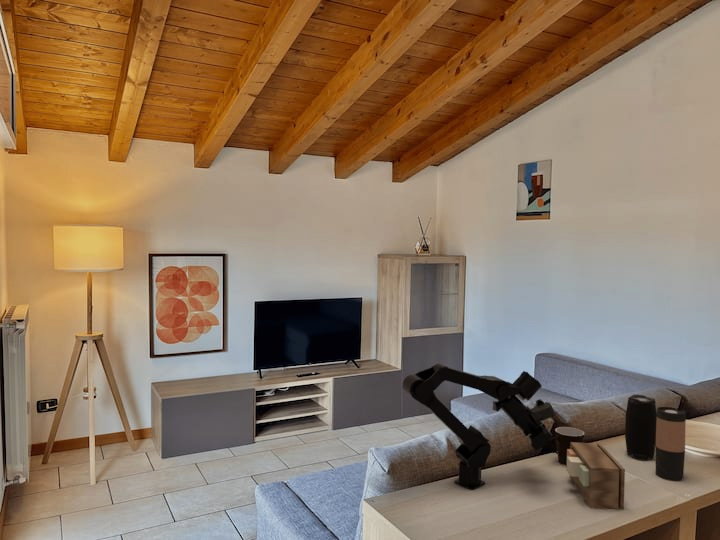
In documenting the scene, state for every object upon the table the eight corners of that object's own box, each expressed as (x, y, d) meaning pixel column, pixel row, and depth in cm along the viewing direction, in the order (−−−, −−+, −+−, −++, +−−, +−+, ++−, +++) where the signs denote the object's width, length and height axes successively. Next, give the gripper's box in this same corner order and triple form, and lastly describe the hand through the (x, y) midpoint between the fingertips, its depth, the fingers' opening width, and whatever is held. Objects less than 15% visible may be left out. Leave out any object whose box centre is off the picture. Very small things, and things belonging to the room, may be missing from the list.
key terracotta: (570, 468, 154) (570, 454, 154) (566, 462, 158) (567, 449, 158) (592, 469, 153) (592, 455, 153) (587, 463, 157) (588, 450, 157)
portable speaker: (662, 460, 174) (663, 400, 173) (638, 462, 171) (639, 402, 171) (641, 450, 182) (643, 393, 181) (618, 452, 180) (620, 395, 179)
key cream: (570, 476, 148) (570, 462, 148) (566, 470, 152) (566, 456, 152) (593, 477, 147) (593, 463, 147) (588, 471, 151) (588, 457, 151)
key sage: (583, 486, 142) (583, 471, 142) (579, 479, 146) (579, 465, 146) (607, 487, 141) (607, 472, 141) (602, 480, 145) (602, 466, 145)
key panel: (590, 507, 140) (591, 467, 140) (569, 477, 159) (570, 442, 159) (623, 509, 140) (624, 469, 139) (599, 479, 158) (599, 443, 158)
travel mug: (656, 478, 159) (658, 412, 158) (653, 469, 166) (655, 405, 165) (686, 483, 156) (688, 415, 155) (681, 473, 163) (683, 408, 163)
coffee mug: (578, 458, 175) (579, 427, 174) (587, 468, 166) (588, 436, 166) (542, 456, 176) (542, 426, 176) (548, 466, 167) (549, 435, 167)
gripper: (545, 402, 147) (586, 444, 146) (531, 385, 165) (567, 423, 164) (515, 428, 148) (555, 471, 147) (504, 409, 166) (540, 447, 165)
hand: (555, 451), depth 156 cm, fingers closed
